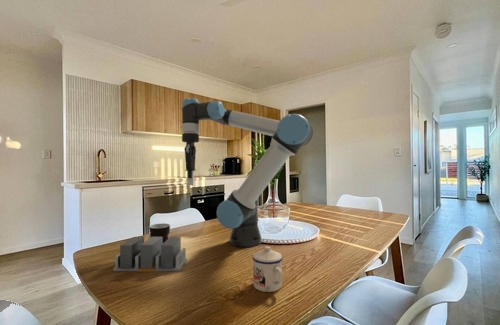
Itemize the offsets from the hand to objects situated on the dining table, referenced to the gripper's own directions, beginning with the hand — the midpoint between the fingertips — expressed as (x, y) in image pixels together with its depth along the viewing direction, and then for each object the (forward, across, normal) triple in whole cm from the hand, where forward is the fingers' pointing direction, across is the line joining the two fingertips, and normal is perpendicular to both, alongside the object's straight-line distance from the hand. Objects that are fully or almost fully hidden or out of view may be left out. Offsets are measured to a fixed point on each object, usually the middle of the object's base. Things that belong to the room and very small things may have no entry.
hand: (190, 185), depth 114 cm
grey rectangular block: (+26, +23, -9) cm, 36 cm away
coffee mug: (+28, +3, -12) cm, 30 cm away
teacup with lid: (+28, +39, +33) cm, 58 cm away
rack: (+27, +23, -9) cm, 37 cm away
